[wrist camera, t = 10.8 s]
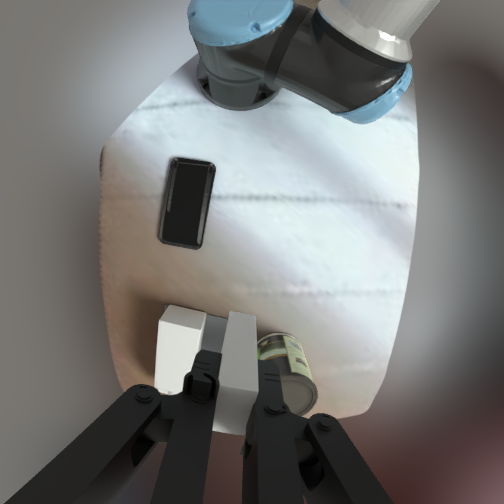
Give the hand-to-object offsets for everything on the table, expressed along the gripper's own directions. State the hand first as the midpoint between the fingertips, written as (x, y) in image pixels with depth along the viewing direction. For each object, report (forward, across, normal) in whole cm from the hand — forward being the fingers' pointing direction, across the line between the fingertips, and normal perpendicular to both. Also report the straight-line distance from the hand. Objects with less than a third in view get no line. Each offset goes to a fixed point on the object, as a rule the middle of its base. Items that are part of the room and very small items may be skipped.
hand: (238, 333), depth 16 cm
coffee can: (+33, +11, -22) cm, 41 cm away
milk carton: (+29, -8, -15) cm, 33 cm away
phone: (+34, -11, +3) cm, 36 cm away
